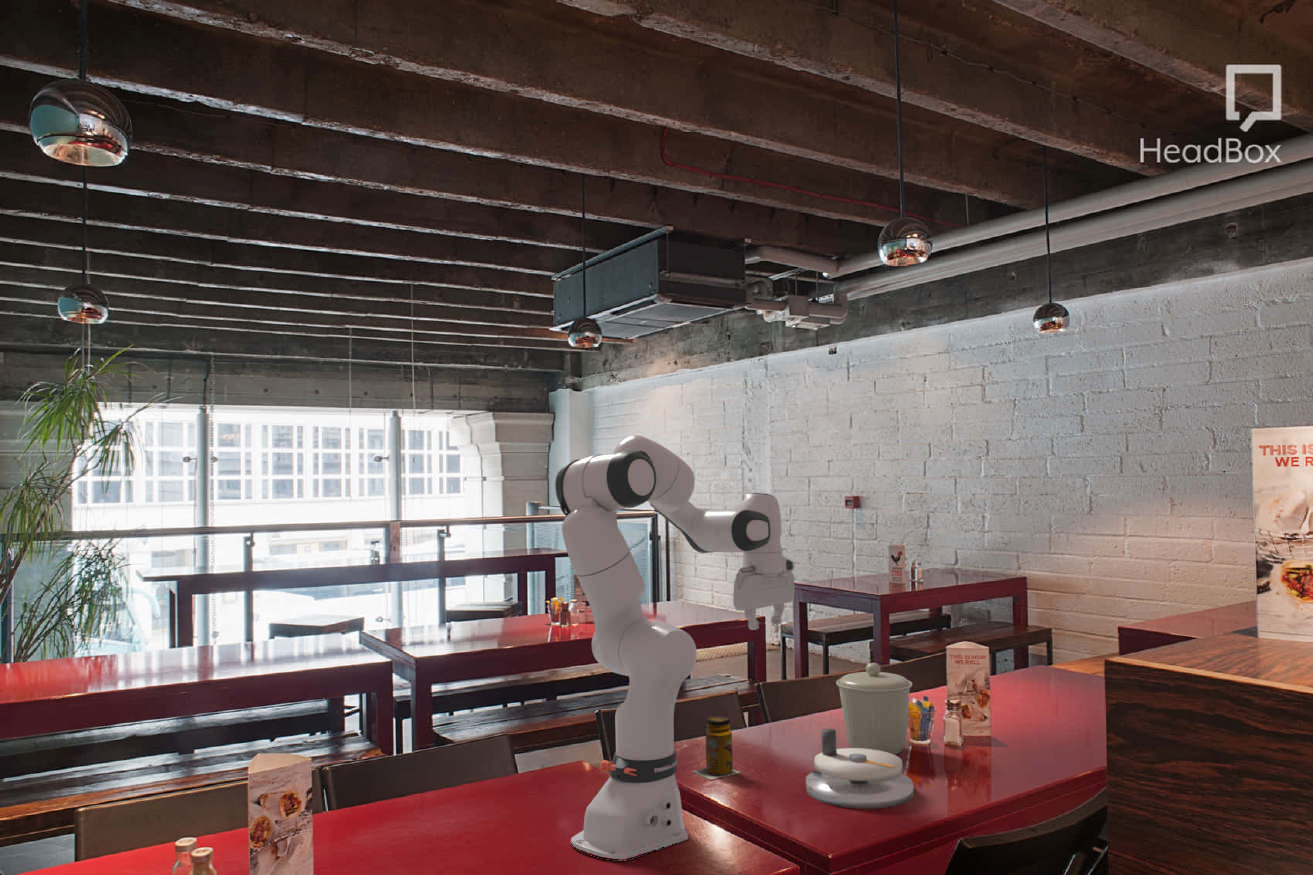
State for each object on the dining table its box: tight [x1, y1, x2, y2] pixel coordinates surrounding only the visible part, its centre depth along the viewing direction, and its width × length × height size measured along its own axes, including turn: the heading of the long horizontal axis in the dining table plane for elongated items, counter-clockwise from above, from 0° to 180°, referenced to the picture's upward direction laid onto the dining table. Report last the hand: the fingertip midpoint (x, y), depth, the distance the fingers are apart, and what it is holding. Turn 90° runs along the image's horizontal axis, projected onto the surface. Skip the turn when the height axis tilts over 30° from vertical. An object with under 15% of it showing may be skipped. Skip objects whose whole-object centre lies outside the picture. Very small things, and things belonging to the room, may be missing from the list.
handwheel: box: [814, 728, 903, 781], centre depth 185 cm, size 18×18×6 cm
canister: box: [835, 662, 913, 756], centre depth 214 cm, size 18×18×21 cm
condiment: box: [691, 715, 741, 780], centre depth 200 cm, size 7×8×12 cm
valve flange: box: [805, 769, 915, 810], centre depth 184 cm, size 22×22×4 cm
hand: (765, 626), depth 197 cm, fingers open, 8 cm apart
